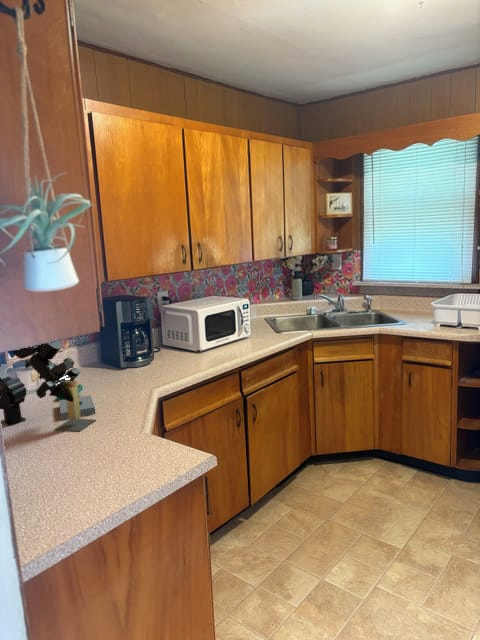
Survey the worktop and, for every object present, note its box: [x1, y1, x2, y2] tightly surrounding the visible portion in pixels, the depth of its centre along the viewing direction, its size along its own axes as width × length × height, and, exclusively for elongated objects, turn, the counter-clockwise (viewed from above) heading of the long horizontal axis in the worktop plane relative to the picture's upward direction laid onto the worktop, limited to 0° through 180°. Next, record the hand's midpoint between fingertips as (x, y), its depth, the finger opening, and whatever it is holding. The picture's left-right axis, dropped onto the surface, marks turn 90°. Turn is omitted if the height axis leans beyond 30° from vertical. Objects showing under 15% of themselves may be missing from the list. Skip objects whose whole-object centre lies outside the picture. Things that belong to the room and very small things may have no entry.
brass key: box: [63, 380, 82, 421], centre depth 168 cm, size 5×3×14 cm, turn 75°
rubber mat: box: [54, 418, 97, 433], centre depth 169 cm, size 10×10×1 cm
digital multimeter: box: [56, 384, 84, 402], centre depth 204 cm, size 7×15×3 cm, turn 4°
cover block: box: [58, 394, 96, 421], centre depth 185 cm, size 12×16×2 cm
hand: (75, 399), depth 167 cm, fingers closed on brass key, 3 cm apart
